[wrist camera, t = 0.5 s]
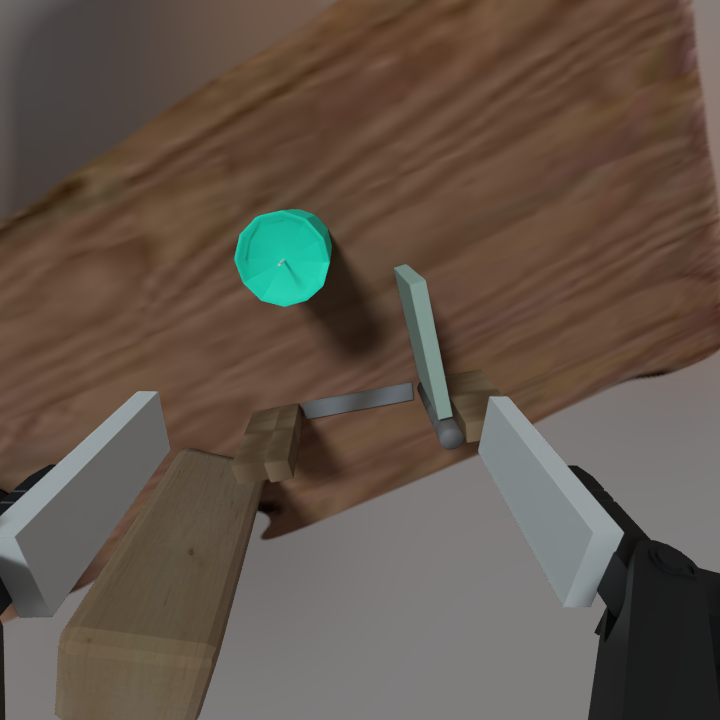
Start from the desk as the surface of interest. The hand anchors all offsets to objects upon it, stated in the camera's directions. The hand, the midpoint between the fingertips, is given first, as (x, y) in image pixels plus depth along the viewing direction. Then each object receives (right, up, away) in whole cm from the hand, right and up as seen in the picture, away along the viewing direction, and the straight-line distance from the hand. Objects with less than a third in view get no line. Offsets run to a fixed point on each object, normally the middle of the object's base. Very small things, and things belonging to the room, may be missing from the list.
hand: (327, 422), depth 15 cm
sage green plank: (+7, +6, +21) cm, 23 cm away
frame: (+2, -2, +25) cm, 25 cm away
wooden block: (-16, -12, +28) cm, 35 cm away
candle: (-4, +13, +18) cm, 23 cm away
